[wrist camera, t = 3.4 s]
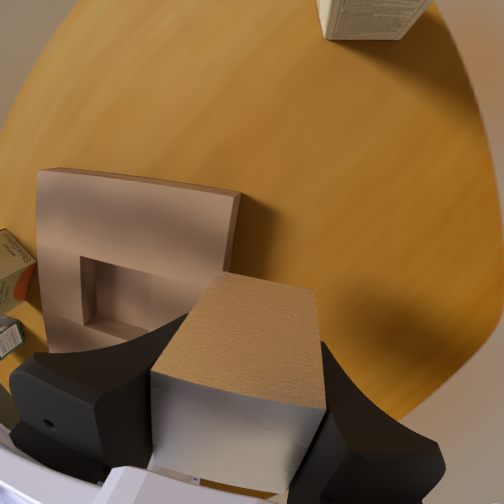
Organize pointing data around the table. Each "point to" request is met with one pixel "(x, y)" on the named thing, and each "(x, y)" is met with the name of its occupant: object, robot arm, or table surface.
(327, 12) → the box
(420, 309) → the table surface
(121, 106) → the table surface
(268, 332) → the peg
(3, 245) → the shoe polish box
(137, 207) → the socket block
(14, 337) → the coffee box
